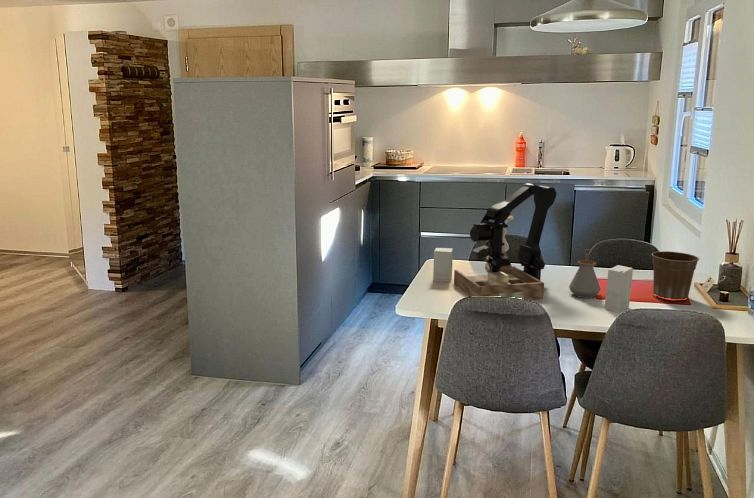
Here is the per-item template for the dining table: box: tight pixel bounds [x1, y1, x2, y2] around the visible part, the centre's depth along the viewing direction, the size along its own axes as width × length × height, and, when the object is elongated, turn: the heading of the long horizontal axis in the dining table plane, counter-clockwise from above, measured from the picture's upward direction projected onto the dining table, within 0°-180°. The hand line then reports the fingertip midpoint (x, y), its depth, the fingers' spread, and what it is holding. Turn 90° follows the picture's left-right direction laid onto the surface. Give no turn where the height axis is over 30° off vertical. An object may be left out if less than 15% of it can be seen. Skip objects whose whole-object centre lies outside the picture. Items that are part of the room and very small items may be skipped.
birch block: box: [487, 272, 509, 285], centre depth 257 cm, size 6×6×4 cm
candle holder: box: [484, 215, 515, 274], centre depth 288 cm, size 11×11×24 cm
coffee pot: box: [568, 248, 602, 299], centre depth 258 cm, size 21×12×15 cm, turn 162°
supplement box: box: [432, 247, 454, 283], centre depth 274 cm, size 7×7×13 cm
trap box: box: [453, 265, 545, 300], centre depth 259 cm, size 26×26×6 cm
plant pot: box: [651, 250, 700, 299], centre depth 250 cm, size 16×16×16 cm
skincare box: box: [604, 264, 634, 313], centre depth 237 cm, size 8×6×15 cm
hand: (493, 278), depth 262 cm, fingers closed
